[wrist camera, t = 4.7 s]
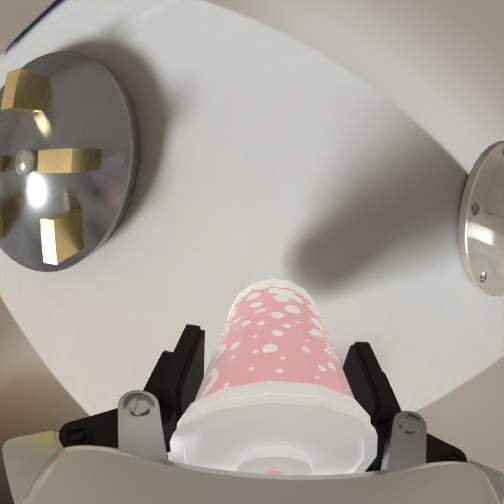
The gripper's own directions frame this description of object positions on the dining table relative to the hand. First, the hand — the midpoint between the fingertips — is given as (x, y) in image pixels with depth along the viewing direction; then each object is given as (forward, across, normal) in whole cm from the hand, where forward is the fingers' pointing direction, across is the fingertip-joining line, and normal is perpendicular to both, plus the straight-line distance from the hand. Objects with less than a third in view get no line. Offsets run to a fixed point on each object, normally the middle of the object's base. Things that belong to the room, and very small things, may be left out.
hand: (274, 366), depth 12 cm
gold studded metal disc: (+7, +16, -8) cm, 19 cm away
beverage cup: (+4, 0, 0) cm, 4 cm away
